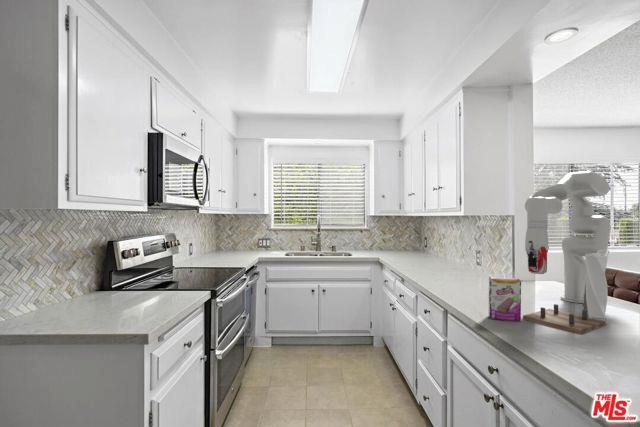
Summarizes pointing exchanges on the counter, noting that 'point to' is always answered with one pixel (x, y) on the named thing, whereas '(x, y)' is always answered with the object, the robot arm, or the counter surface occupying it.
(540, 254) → the soda can
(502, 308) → the candy bar box
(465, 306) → the counter surface
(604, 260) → the skyscraper
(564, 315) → the brown peg board
